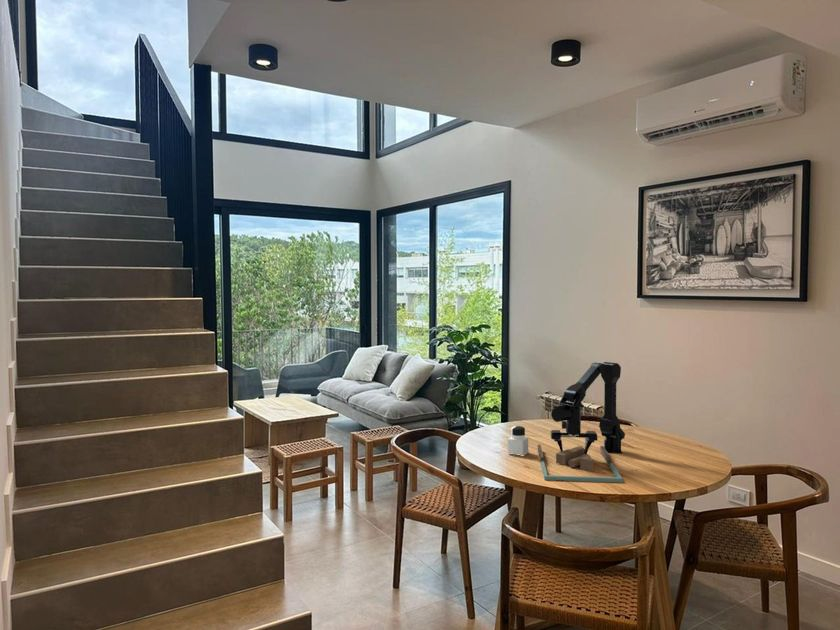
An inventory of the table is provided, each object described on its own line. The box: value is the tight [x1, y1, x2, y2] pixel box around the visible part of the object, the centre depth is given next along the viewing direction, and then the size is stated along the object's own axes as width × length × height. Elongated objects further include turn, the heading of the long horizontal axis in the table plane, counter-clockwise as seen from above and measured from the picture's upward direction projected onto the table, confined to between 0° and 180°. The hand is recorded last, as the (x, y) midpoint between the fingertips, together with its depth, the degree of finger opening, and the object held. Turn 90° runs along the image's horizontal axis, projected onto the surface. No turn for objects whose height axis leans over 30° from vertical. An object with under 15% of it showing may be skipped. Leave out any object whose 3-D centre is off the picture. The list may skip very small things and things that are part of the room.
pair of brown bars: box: [537, 444, 613, 466], centre depth 243 cm, size 28×20×3 cm
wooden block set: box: [555, 445, 594, 473], centre depth 235 cm, size 17×6×18 cm
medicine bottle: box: [507, 425, 529, 456], centre depth 251 cm, size 7×7×12 cm
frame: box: [540, 461, 623, 484], centre depth 223 cm, size 28×19×2 cm
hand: (573, 455), depth 240 cm, fingers open, 9 cm apart
